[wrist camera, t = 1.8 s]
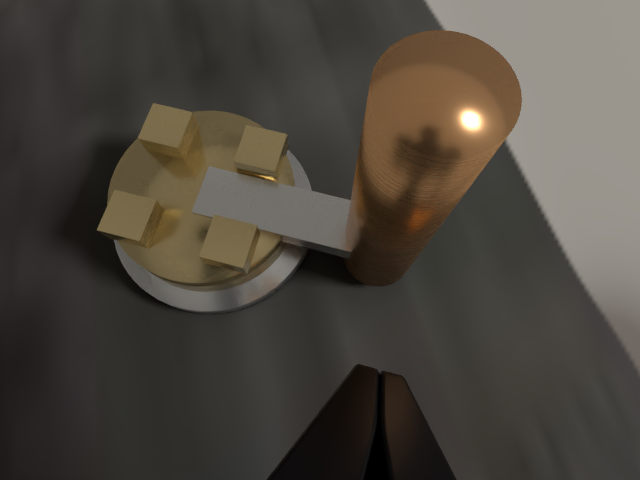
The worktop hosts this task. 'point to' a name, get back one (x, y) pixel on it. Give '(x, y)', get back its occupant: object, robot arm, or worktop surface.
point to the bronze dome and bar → (304, 205)
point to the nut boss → (227, 298)
